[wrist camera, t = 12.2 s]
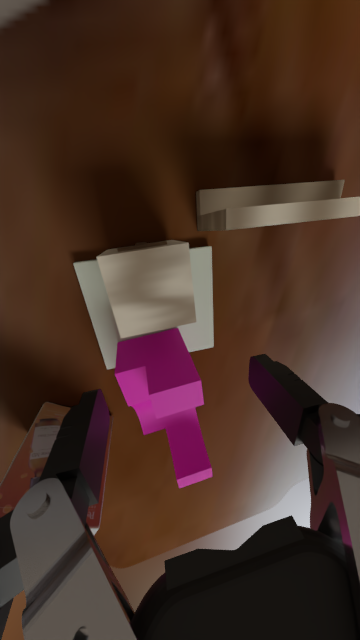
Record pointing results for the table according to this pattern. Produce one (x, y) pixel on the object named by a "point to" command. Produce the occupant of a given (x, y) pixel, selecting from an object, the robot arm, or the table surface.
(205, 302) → the pad
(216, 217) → the screen
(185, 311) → the birch cube
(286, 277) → the table surface
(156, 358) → the toy block
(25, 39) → the table surface
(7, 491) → the small box
